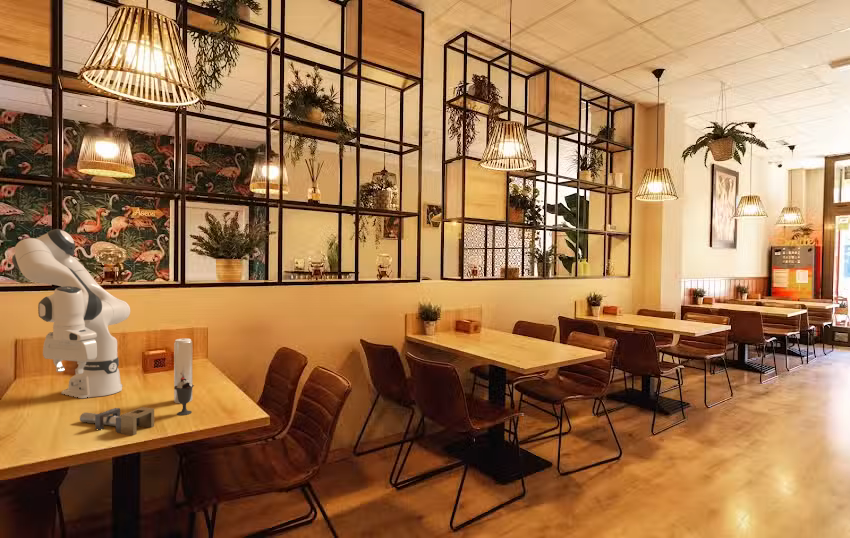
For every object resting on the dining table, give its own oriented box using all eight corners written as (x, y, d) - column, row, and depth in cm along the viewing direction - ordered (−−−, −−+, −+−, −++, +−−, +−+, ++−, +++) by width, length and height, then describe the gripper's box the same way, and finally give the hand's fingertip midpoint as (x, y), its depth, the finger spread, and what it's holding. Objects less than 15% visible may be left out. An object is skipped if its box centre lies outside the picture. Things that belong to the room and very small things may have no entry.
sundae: (178, 410, 175) (178, 371, 175) (197, 410, 176) (197, 371, 175) (170, 416, 169) (170, 375, 168) (189, 416, 169) (189, 375, 169)
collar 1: (95, 429, 155) (95, 415, 155) (115, 422, 162) (115, 407, 162) (100, 430, 154) (100, 415, 154) (120, 422, 162) (120, 408, 162)
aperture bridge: (120, 433, 152) (120, 415, 152) (142, 424, 160) (142, 407, 160) (133, 435, 151) (133, 416, 151) (154, 426, 159) (154, 408, 159)
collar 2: (115, 432, 153) (115, 417, 153) (135, 424, 160) (135, 410, 160) (120, 433, 152) (120, 418, 152) (140, 425, 160) (140, 410, 160)
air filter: (184, 404, 183) (184, 341, 182) (170, 402, 184) (170, 340, 183) (196, 399, 189) (196, 338, 188) (182, 397, 190) (182, 337, 190)
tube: (77, 420, 160) (82, 411, 162) (85, 423, 163) (90, 413, 164) (120, 425, 156) (124, 416, 157) (127, 428, 158) (131, 418, 160)
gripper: (37, 333, 161) (37, 372, 161) (83, 336, 156) (83, 377, 156) (55, 330, 167) (55, 368, 168) (100, 333, 162) (100, 372, 162)
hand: (69, 372), depth 162 cm, fingers open, 7 cm apart
